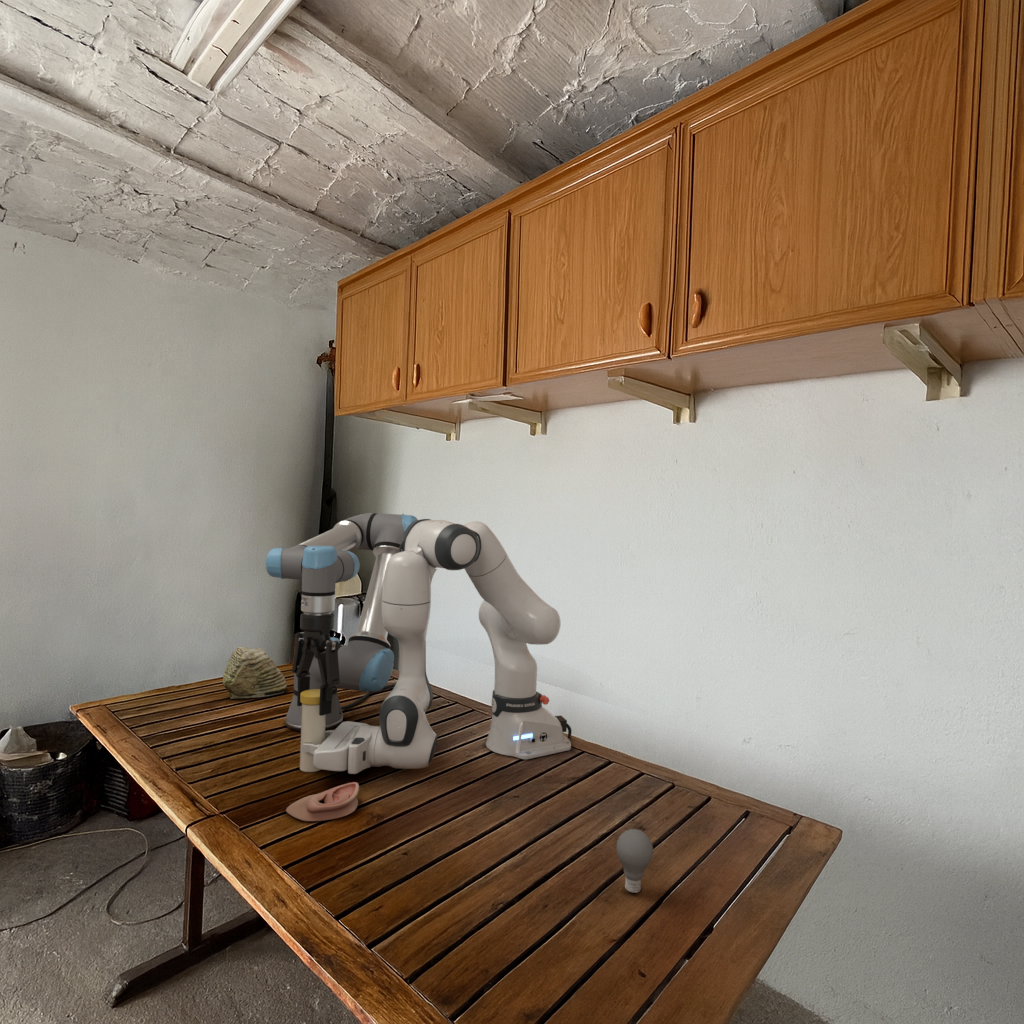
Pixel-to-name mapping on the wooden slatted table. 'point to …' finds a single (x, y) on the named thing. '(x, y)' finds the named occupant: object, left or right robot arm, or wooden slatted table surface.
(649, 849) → the light bulb
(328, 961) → the wooden slatted table surface
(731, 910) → the wooden slatted table surface
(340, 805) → the anatomical model
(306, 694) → the lid
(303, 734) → the jar
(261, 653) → the fossil
